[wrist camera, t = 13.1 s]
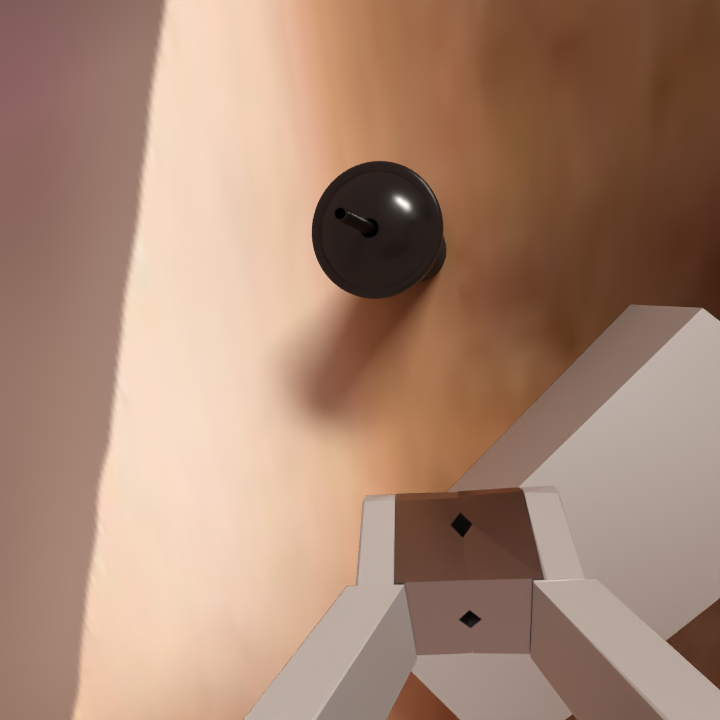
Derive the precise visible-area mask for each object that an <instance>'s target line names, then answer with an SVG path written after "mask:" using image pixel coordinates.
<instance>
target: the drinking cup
mask: <svg viewBox="0 0 720 720" xmlns="http://www.w3.org/2000/svg"><path fill="white" fill-rule="evenodd" d="M312 242H313V247H314V251H315V255H316V257H317V260H318V262H319V264H320V266H321V268H322V270H323V271H324V272H325V274H326V275H327V276H328V277H329V279H330V280H331V281H332V282H333V283H335V284H336V285H337V286H338V287H340V288H341V289H343V290H344V291H346V292H348V293H350V294H353V295H356V296H359V297H363V298H370V299H380V298H388V297H392V296H396V295H398V294H401V293H403V292H405V291H407V290H409V289H410V288H412V287H413V286H415V285H416V284H417V283H419V282H422V281H425V280H427V279H429V278H431V277H433V276H434V275H435V274H436V273H437V272H438V271H439V270H440V269H441V267H442V265H443V263H444V261H445V257H446V244H445V240H444V236H443V218H442V213H441V209H440V206H439V203H438V200H437V198H436V196H435V194H434V193H433V191H432V189H431V188H430V187H429V185H428V184H427V183H426V182H425V181H424V180H423V179H422V178H421V177H420V176H419V175H418V174H417V173H415V172H414V171H412V170H411V169H409V168H407V167H405V166H402V165H400V164H396V163H393V162H386V161H373V162H367V163H363V164H360V165H357V166H354V167H352V168H350V169H348V170H347V171H345V172H343V173H342V174H341V175H339V176H338V177H337V178H336V179H335V180H334V181H333V182H332V183H331V184H330V185H329V186H328V187H327V189H326V190H325V191H324V193H323V195H322V196H321V198H320V200H319V202H318V205H317V207H316V210H315V213H314V218H313V223H312Z"/></svg>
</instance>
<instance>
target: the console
mask: <svg viewBox="0 0 720 720" xmlns="http://www.w3.org/2000/svg"><path fill="white" fill-rule="evenodd" d="M537 486H555V487H556V488H557V490H558V491H559V494H560V498H561V501H562V504H563V507H564V510H565V513H566V517H567V520H568V523H569V526H570V529H571V532H572V536H573V539H574V542H575V545H576V548H577V551H578V554H579V558H580V561H581V564H582V567H583V570H584V573H585V577H586V579H598V580H599V581H600V582H601V583H602V584H603V585H605V586H606V587H607V588H608V589H609V590H610V591H611V592H612V593H613V594H614V595H616V596H617V597H618V598H619V599H620V600H621V601H622V602H623V603H624V604H625V605H627V606H628V607H629V608H630V609H631V610H632V611H633V612H634V613H635V614H636V615H638V616H639V617H640V618H641V619H642V620H643V621H644V622H645V623H646V624H647V625H649V626H650V627H651V628H652V629H653V630H654V631H655V632H656V633H657V634H658V635H660V636H661V637H662V638H663V639H664V640H665V641H666V640H667V639H669V638H670V637H671V636H672V635H674V634H675V633H676V632H677V631H679V630H680V629H681V628H682V627H684V626H685V625H686V624H688V623H689V622H690V621H691V620H693V619H694V618H695V617H696V616H698V615H699V614H700V613H701V612H703V611H704V610H705V609H707V608H708V607H709V606H710V605H712V604H713V603H714V602H715V601H717V600H718V599H719V598H720V321H719V320H717V319H716V318H715V317H714V316H712V315H711V314H710V313H708V312H707V311H706V310H705V309H703V308H694V307H672V306H649V305H630V306H629V307H628V308H627V309H626V310H625V311H624V312H623V313H622V314H621V315H620V316H619V317H618V318H617V319H616V320H615V321H614V322H613V323H612V324H611V325H610V326H609V327H608V328H607V329H606V330H605V331H604V332H603V333H602V334H601V335H600V336H599V337H598V338H597V339H596V340H595V341H594V342H593V343H592V344H591V345H590V346H589V347H588V348H587V349H586V351H585V352H584V353H583V354H582V355H581V356H580V357H579V358H578V359H577V360H576V361H575V362H574V363H573V364H572V365H571V366H570V367H569V368H568V369H567V370H566V371H565V372H564V373H563V374H562V375H561V376H560V377H559V378H558V379H557V380H556V381H555V382H554V383H553V384H552V385H551V386H550V387H549V388H548V389H547V390H546V391H545V392H544V393H543V394H542V395H541V396H540V397H539V398H538V400H537V401H536V402H535V403H534V404H533V405H532V406H531V407H530V408H529V409H528V410H527V411H526V412H525V413H524V414H523V415H522V416H521V417H520V418H519V419H518V420H517V421H516V422H515V423H514V424H513V425H512V426H511V427H510V428H509V429H508V430H507V431H506V432H505V433H504V434H503V435H502V436H501V437H500V438H499V439H498V440H497V441H496V442H495V443H494V444H493V445H492V446H491V448H490V449H489V450H488V451H487V452H486V453H485V454H484V455H483V456H482V457H481V458H480V459H479V460H478V461H477V462H476V463H475V464H474V465H473V466H472V467H471V468H470V469H469V470H468V471H467V472H466V473H465V474H464V475H463V476H462V477H461V478H460V479H459V480H458V481H457V482H456V483H455V484H454V485H453V486H452V487H451V488H450V489H449V490H448V491H447V492H457V491H469V490H484V489H499V488H515V487H520V489H521V488H522V487H537ZM411 672H412V673H413V674H414V675H415V676H416V677H417V678H418V679H419V680H420V681H421V682H422V683H423V684H424V685H425V686H426V687H427V688H428V689H429V690H430V691H431V692H432V693H433V694H434V695H435V696H437V697H438V698H439V699H440V700H441V701H442V702H443V703H444V704H445V705H446V706H447V707H448V708H449V709H450V710H451V711H452V712H453V713H454V714H455V715H456V716H457V717H458V718H459V719H460V720H566V719H567V718H568V717H570V716H571V715H572V713H571V711H570V710H569V708H568V707H567V706H566V704H565V703H564V702H563V700H562V699H561V698H560V696H559V695H558V694H557V692H556V691H555V690H554V688H553V687H552V686H551V684H550V683H549V682H548V680H547V679H546V678H545V676H544V675H543V674H542V672H541V671H540V670H539V668H538V667H537V665H536V664H535V663H534V661H533V660H532V659H531V657H530V654H492V653H473V651H472V653H464V654H440V655H417V661H416V663H415V665H414V667H413V669H412V671H411Z"/></svg>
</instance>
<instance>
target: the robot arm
mask: <svg viewBox="0 0 720 720" xmlns="http://www.w3.org/2000/svg"><path fill="white" fill-rule="evenodd" d="M472 651H473V653H492V654H530V657H531V659H532V660H533V661H534V663H535V664H536V665H537V667H538V668H539V670H540V671H541V672H542V674H543V675H544V676H545V678H546V679H547V680H548V682H549V683H550V684H551V686H552V687H553V688H554V690H555V691H556V692H557V694H558V695H559V696H560V698H561V699H562V700H563V702H564V703H565V704H566V706H567V707H568V708H569V710H570V711H571V713H572V714H573V715H574V717H575V718H576V719H577V720H720V690H719V689H718V688H717V687H716V686H715V685H713V684H712V683H711V682H710V681H709V680H708V679H707V678H706V677H705V676H704V675H702V674H701V673H700V672H699V671H698V670H697V669H696V668H695V667H694V666H693V665H691V664H690V663H689V662H688V661H687V660H686V659H685V658H684V657H683V656H682V655H680V654H679V653H678V652H677V651H676V650H675V649H674V648H673V647H672V646H671V645H669V644H668V643H667V642H666V641H665V640H664V639H663V638H662V637H661V636H660V635H658V634H657V633H656V632H655V631H654V630H653V629H652V628H651V627H650V626H649V625H647V624H646V623H645V622H644V621H643V620H642V619H641V618H640V617H639V616H638V615H636V614H635V613H634V612H633V611H632V610H631V609H630V608H629V607H628V606H627V605H625V604H624V603H623V602H622V601H621V600H620V599H619V598H618V597H617V596H616V595H614V594H613V593H612V592H611V591H610V590H609V589H608V588H607V587H606V586H605V585H603V584H602V583H601V582H600V581H599V580H598V579H586V577H585V573H584V570H583V567H582V564H581V561H580V558H579V554H578V551H577V548H576V545H575V542H574V539H573V536H572V532H571V529H570V526H569V523H568V520H567V517H566V513H565V510H564V507H563V504H562V501H561V498H560V494H559V491H558V490H557V488H556V487H555V486H537V487H522V488H521V489H520V487H515V488H499V489H484V490H469V491H457V492H443V493H407V494H387V495H365V498H364V501H363V505H362V518H361V530H360V542H359V554H358V566H357V578H356V586H346V587H345V589H344V590H343V591H342V593H341V594H340V595H339V596H338V598H337V599H336V600H335V602H334V603H333V604H332V606H331V607H330V608H329V609H328V611H327V612H326V613H325V615H324V616H323V617H322V619H321V620H320V621H319V622H318V624H317V625H316V626H315V628H314V629H313V630H312V632H311V633H310V634H309V635H308V637H307V638H306V639H305V641H304V642H303V643H302V645H301V646H300V647H299V648H298V650H297V651H296V652H295V654H294V655H293V656H292V658H291V659H290V660H289V661H288V663H287V664H286V665H285V667H284V668H283V669H282V671H281V672H280V673H279V674H278V676H277V677H276V678H275V680H274V681H273V682H272V683H271V685H270V686H269V687H268V689H267V690H266V691H265V693H264V694H263V695H262V696H261V698H260V699H259V700H258V702H257V703H256V704H255V706H254V707H253V708H252V709H251V711H250V712H249V713H248V715H247V716H246V717H245V719H244V720H386V719H387V717H388V715H389V713H390V711H391V709H392V708H393V706H394V704H395V702H396V700H397V698H398V696H399V694H400V692H401V690H402V688H403V686H404V684H405V682H406V680H407V678H408V676H409V675H410V673H411V671H412V669H413V667H414V665H415V663H416V661H417V655H440V654H464V653H472Z"/></svg>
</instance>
